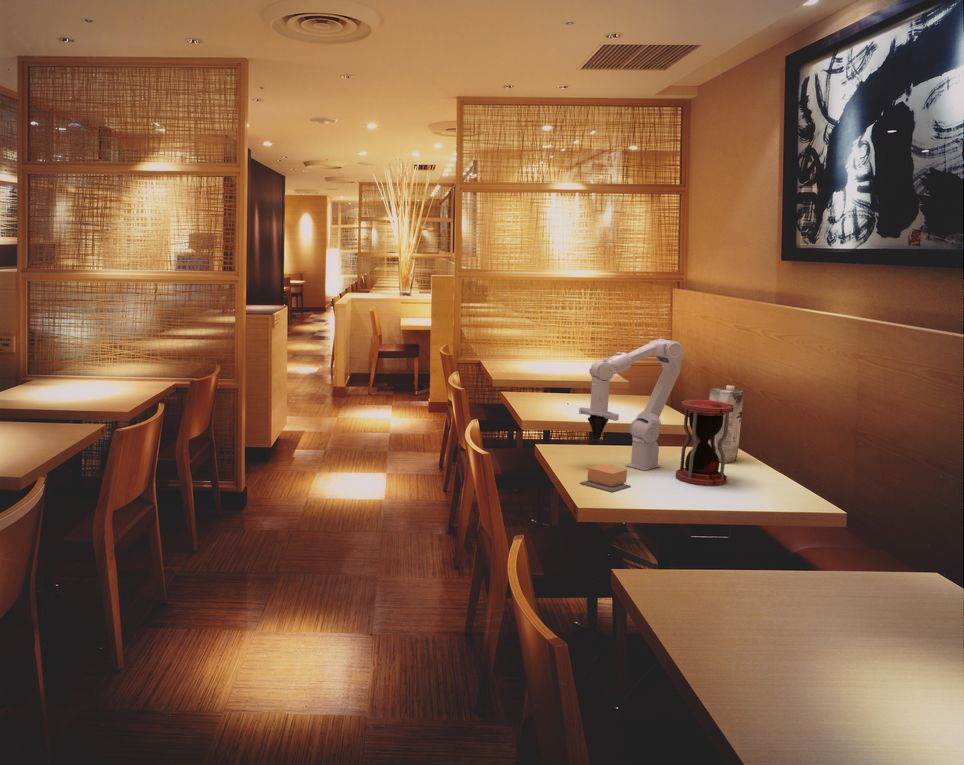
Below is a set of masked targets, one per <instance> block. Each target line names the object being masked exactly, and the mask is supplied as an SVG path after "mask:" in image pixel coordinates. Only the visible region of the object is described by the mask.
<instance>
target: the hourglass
mask: <svg viewBox="0 0 964 765" xmlns="http://www.w3.org/2000/svg"><path fill="white" fill-rule="evenodd" d="M681 408H683V409H684V419H683V429H684V431H685V434H686V440H685V441H686V442H685V443H684V444H683V445H682V448H681V456H680V466H679V469H676V471H675V477H676V479H677V480H679V481H681V482H685V483H688V484H692V485H698V486H707V487H708V486H711V487H712V486H721V485H725V484H726V483H727V478H728V476H727V475H726V474H725V464H726V463H725V454H724V452H723V450H722V442H723V440H724V439H725V438H726V436H727V433H728V422H729V413H731V412H733V405H731V404H728V403H724V402H720V401H711V400H709V399H685V400H682V401H681ZM725 413H726V416H725V426H724V434H723V436H722V438H721V439H719V442H718V444H717V446H718V451H719V452H720V454H721V462H719V458H718V455H717V454H716V446H715V435H716V434H717V433H718V432H719V431H720V430H721V428H722V425H723V415H725ZM688 424H689V427H690V429H691V432H690V430H689V428H688ZM698 439H699V443H698ZM709 440H711V446H712V447H711V446H710V445H709V444H708V441H709ZM691 441H693V442H692V448H691V449H690V451H688V453H687V454H686V448H688V447H687V446H689V445H690V444H691ZM685 457H686V458H685ZM719 468H720V470H719Z"/></svg>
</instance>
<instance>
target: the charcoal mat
mask: <svg viewBox="0 0 964 765" xmlns="http://www.w3.org/2000/svg"><path fill="white" fill-rule="evenodd" d="M579 485H583V486H586V487H590V488H594V489H598V490H602V491H605V492H609V493H615V492H618V491H621V490H625V489H629V488H631V487H632V486H631V485H630V484H627V483H623V484H620V485H616V486H613V487H609V486H605V485H601V484H598V483H594V482H590V481H588V479H587V480H584V481H581V482H579Z"/></svg>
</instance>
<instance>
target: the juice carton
mask: <svg viewBox="0 0 964 765" xmlns="http://www.w3.org/2000/svg"><path fill="white" fill-rule="evenodd" d="M735 388H736V387H735V385H726V387H713V388H709V398H708V400H711V401H720V402H724V403H728V404H731V405H733V412H731V413H729V422H728V433H727V436H726V438H725V439H724V440H723V442H722V450H723V452H724V454H725V464H727V463H734V462H736V461H737V457H738V453H739V445H740V435H741V426H742V425H741V423H742V415H743V402H744V391H743V390H738V389H735ZM725 416H726V413H725V415H723V425H722V428H721V430H720V431H719V432H718V433H717V434H716V435H715V446H716V454H717V455H718V458H719V463H721V454H720V452H719V451H718V446H717V444H718V442H719V439H721V438H722V436H723V434H724V426H725ZM708 444H709V445H710V446H711V440H709V441H708ZM711 447H712V446H711Z"/></svg>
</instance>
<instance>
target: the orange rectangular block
mask: <svg viewBox="0 0 964 765" xmlns="http://www.w3.org/2000/svg"><path fill="white" fill-rule="evenodd" d="M627 475H628V469H625V468H621V467H618V466H613V465H608V464H605V463H602V464H597V465H594V466H590V467H588V469H587V480H588V481H590V482H594V483H598V484H601V485H605V486H609V487H613V486H616V485H620V484H627Z"/></svg>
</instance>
